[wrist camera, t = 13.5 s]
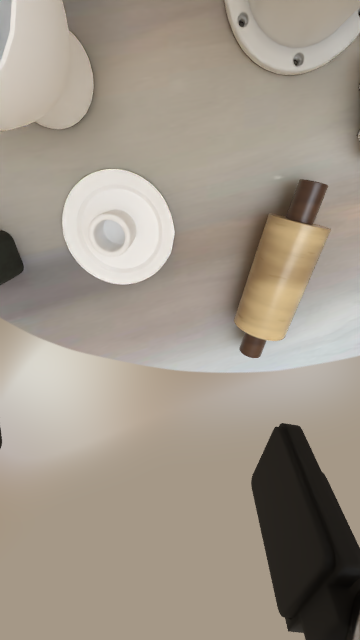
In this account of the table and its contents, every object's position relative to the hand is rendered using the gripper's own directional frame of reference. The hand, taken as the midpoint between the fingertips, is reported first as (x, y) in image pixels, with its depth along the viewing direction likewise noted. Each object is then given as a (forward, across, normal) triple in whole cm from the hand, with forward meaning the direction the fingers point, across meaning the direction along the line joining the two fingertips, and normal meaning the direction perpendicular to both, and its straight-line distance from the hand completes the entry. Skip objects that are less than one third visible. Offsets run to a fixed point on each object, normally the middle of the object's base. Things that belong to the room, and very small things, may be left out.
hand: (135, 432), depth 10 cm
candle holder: (+26, +6, -2) cm, 27 cm away
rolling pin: (+26, -12, 0) cm, 28 cm away
